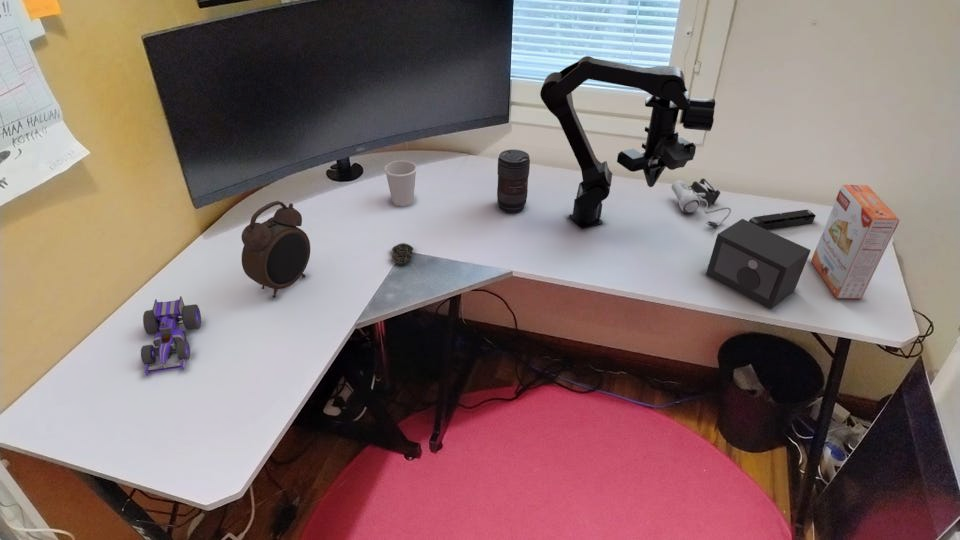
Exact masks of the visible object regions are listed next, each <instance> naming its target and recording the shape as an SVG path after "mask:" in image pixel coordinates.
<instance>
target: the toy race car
mask: <svg viewBox="0 0 960 540" xmlns="http://www.w3.org/2000/svg"><path fill="white" fill-rule="evenodd" d="M201 315H202V314H201V310H200V307H199V305H198V304H186V305H185V302H184V300H183V297H182V295H180V296H179V299H176V300H169V301H168V300H167V301H158V299H157V298H156V299H154V303H153V306H152V309H148V310H145V311H144V312H143V315H142V324H143V329H144V331H145V333H146V334H147V335H148V336H150V335H151V336H152V335H154V337H153V341H152V343H153V344H147V345H146V344H145V345H143V346H141V349H140V359H141V362H142V364H143V365H144V366H145V367H144V374H145V376H148V375H149V373H154V372H163V371H169V370H175V369H181V370H182V371H183V370H185V368H186V364H187V363H186V362H187V361H186V360H189V359H190V356H191V347H190V343H189V341H188V338H187V333H186V331H184V330H183V329H182V328H180V325H182V324H183V326H184V328H185V329H186V330H188V331H189V330H197V329H200V328H201V325H202V316H201ZM181 321H182V322H181ZM175 354H176V356H177V358H178V360H179V362H175V363H169V364H167V361H168V360H169V359H170V358H171V356H172V355H175ZM157 357H158V359H159V365H156V366H155V365H154V364H155V363H156V359H157ZM151 365H154V366H151Z"/></svg>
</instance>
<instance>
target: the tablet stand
mask: <svg viewBox="0 0 960 540" xmlns="http://www.w3.org/2000/svg"><path fill="white" fill-rule="evenodd" d="M816 216H817V215H816V214H815V213H814V212H812V211H811V210H810V209H800V210H794V211H786V212H781V213H780V212H779V213H773V214H772V213H771V214H765V215H757V216H753V217H751V218H750V219H749V220H748V221H749V222H751V223H753V224H755V225H757V226H759V227H762V228H764V229H766V230H768V231H771V230H774V229H783V228H788V227H795V226H802V225H809V224H813V223H814V221H815V219H816Z"/></svg>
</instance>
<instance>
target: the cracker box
mask: <svg viewBox="0 0 960 540" xmlns="http://www.w3.org/2000/svg"><path fill="white" fill-rule="evenodd" d="M839 188H840V189H839V191H838V193H837V196H836V198H835V201H834V203H833V205H832V208H831V211H830V213H829V216H828V218H827V221H826V223H825V225H824V228H823V229H822V233H821V235H820V237H819V240H818V242H817V245H816V247H815V249H814V252H813V255H812V257H811V259H810V262H811V263H812V265H813V266H814V268H815V269H816V271H817V272H818V274H819V275H820V277H821V278H822V280H823V281H824V283H825V284H826V286H827V288H828V289H829V290H830V292H831V293H832V295H833V296H834V298H835V299H843V300H844V299H850V300H852V299H853V300H861V299H863V296H864V294H865V292H866V290H867V288H868V286H869V284H870V282H871V280H872V278H873V276H874V274H875V272H876V269H877V268H878V266H879V264H880V262H881V260H882V257H883V255H884V253H885V251H886V250H887V248H888V245H889V243H890V242H891V239H892V238H893V235H894V233H895V231H896V229H897V227H898V225H899V223H900V221H901V219H900V218H899V217H898V216H897V214H896V213H895V212H894V211H892V209H891V208H890V207H889V206H888V205H887V204H886V203H885V202H884V201H883V200H882V198H880V197H879V196H878V195H877V194H876V193H875V191H874V190H873V189H871V187H870V186H869V185H868V184H841V186H840V187H839Z"/></svg>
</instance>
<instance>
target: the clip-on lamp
mask: <svg viewBox="0 0 960 540" xmlns="http://www.w3.org/2000/svg"><path fill="white" fill-rule="evenodd" d="M671 190H672V191H673V194H674V195H675V197H676V198H677V200H678V203H679V204H678V205H679V208H680V210H681V211H682V212H684V213H685V214H686V213H687V214H688V213H693V212H695V211H697V210H698V208H699V207H700V204H701V202H700V201H704V202H705V206H706V207H705V209H704V214H712V213H716V212H719V211H723V210H728V213H727V215H726V216H725V217H724V218H723V219H722V220H721V221H720V222H718V223H717V222H714V221H710V220H708V221H707V222H706V223H705V224H706V225H708V226H709V227H714V228H717V227H718V226H719V225H721V224H723V223H724V222H725V221H726V220H727V218H729V216H730V215H731V213H732V208H730V207H722V208H721V207H720V208H717V209H713V210H709V211H707V209H708V207H710V206H711V205H715V203H716V202H717V200H718V198H719V196H720V195H721V191H720V190H719V189H717V190H715V189H714V188H713V186H712V185H711V184H710V183H709V182H708V181H707V179H705V178H701V179H700V180H699V182H698V181H696V180H695V181H693V182H692V184H690V185H688V186H687V184H686V183H685V182H684V181H683V180H682V179H677V180H675V181H673V183H672V184H671ZM691 191H692V192H693V193H692V192H691Z"/></svg>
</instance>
